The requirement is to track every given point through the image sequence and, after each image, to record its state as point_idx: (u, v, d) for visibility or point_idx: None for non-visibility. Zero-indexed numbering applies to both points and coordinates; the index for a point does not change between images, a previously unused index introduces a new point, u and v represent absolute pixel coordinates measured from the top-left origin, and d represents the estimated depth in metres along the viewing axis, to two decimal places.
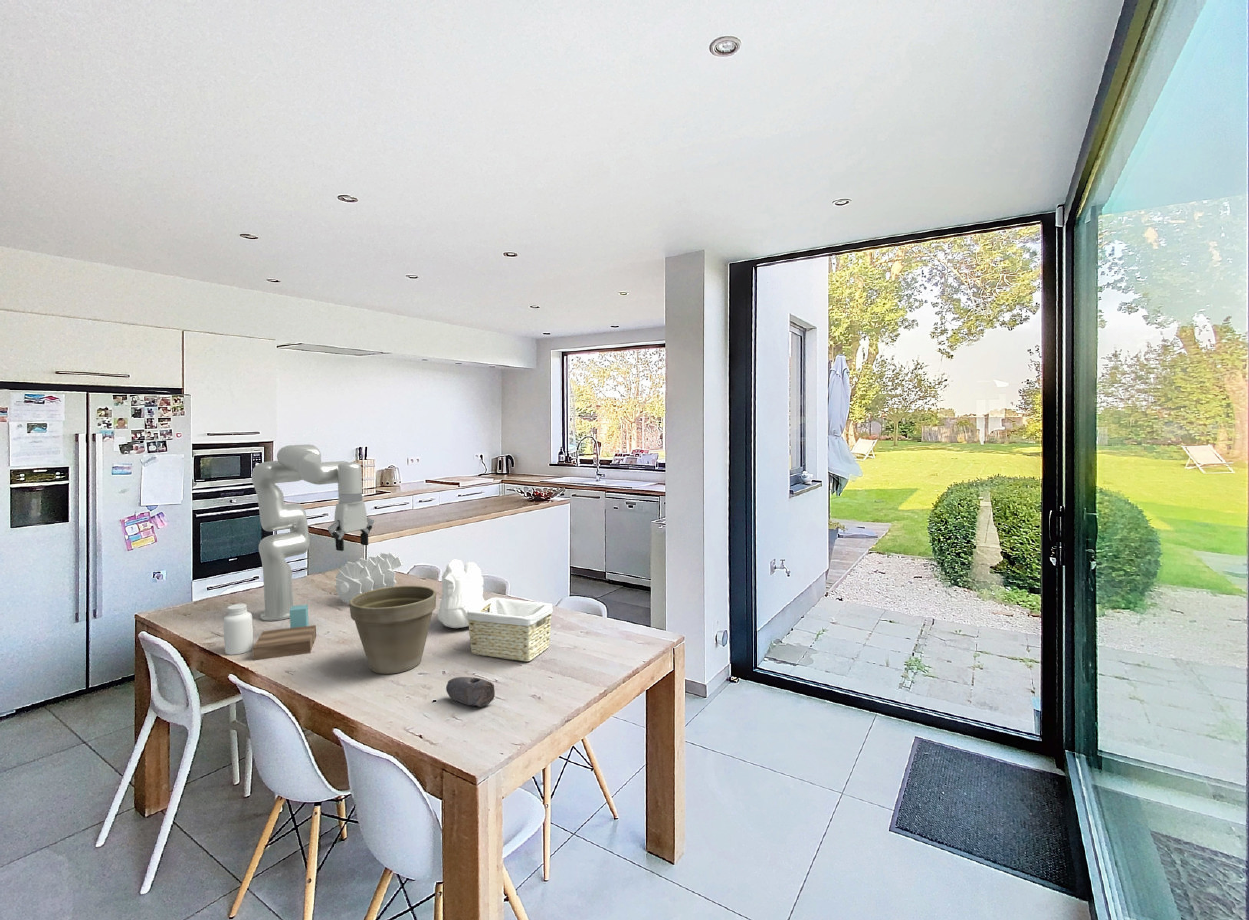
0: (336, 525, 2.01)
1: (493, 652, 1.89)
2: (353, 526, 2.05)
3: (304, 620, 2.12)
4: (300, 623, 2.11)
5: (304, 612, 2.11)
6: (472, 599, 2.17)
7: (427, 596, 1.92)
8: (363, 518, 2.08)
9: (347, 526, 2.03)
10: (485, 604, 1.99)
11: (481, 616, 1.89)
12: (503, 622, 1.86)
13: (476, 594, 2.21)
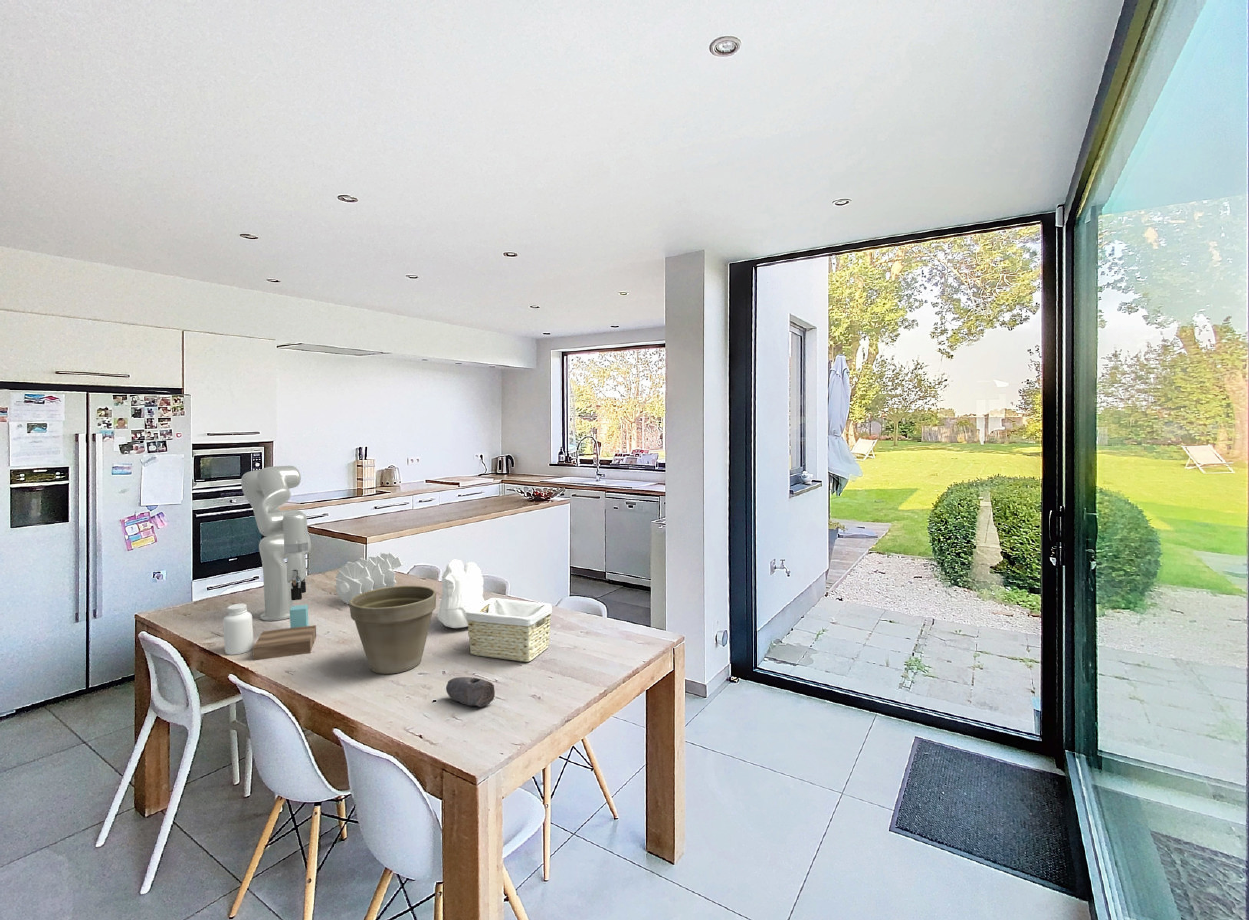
0: (296, 575, 2.06)
1: (493, 653, 1.89)
2: (304, 574, 2.12)
3: (304, 620, 2.12)
4: (300, 623, 2.11)
5: (304, 612, 2.11)
6: (472, 599, 2.17)
7: (427, 596, 1.92)
8: None
9: (303, 574, 2.10)
10: (484, 604, 1.99)
11: (480, 616, 1.89)
12: (503, 622, 1.86)
13: (476, 594, 2.21)
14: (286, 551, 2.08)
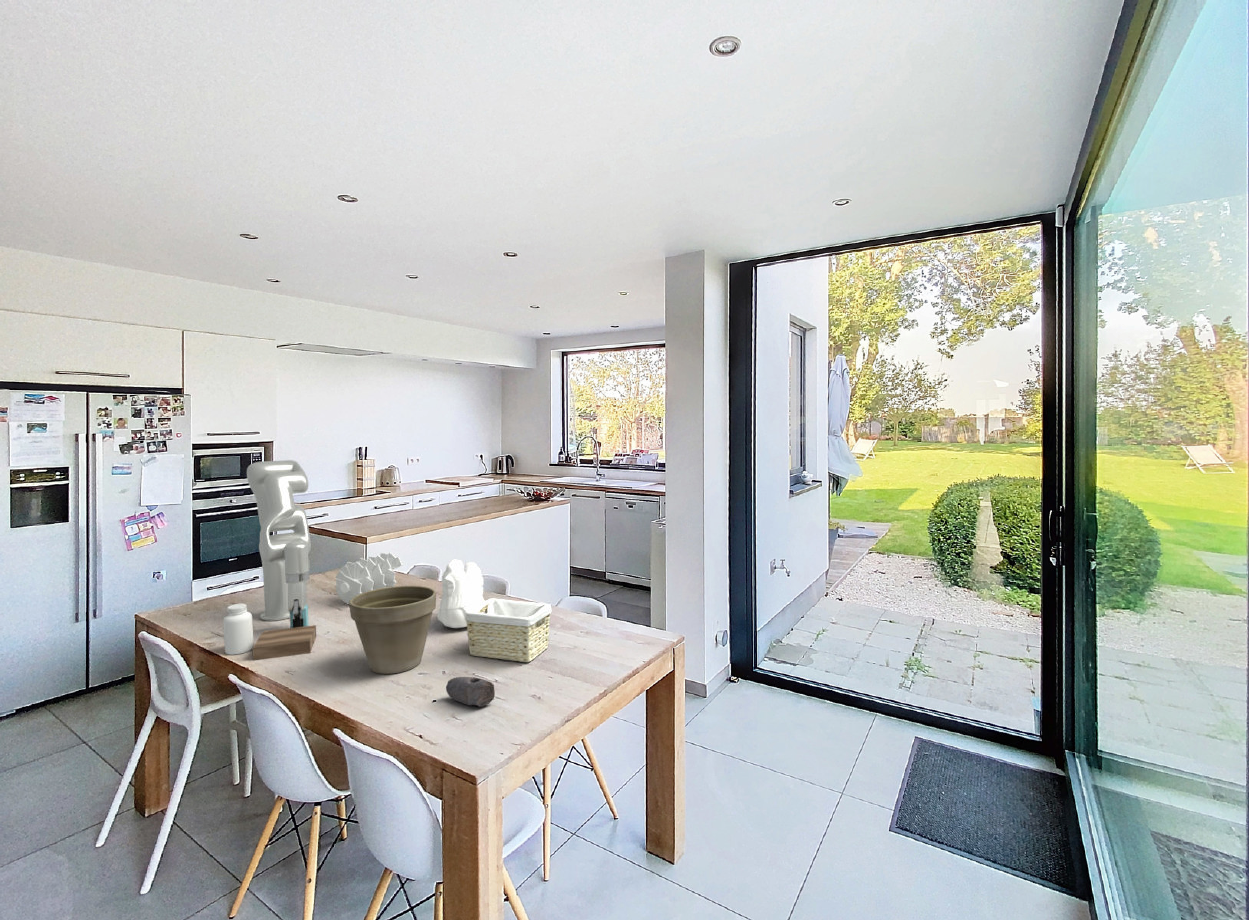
0: (298, 606, 2.08)
1: (492, 654, 1.88)
2: (305, 603, 2.13)
3: (304, 620, 2.12)
4: None
5: (304, 612, 2.11)
6: (472, 599, 2.17)
7: (427, 596, 1.92)
8: None
9: (304, 603, 2.11)
10: (483, 605, 1.98)
11: (480, 617, 1.88)
12: (503, 623, 1.85)
13: (476, 594, 2.21)
14: (287, 580, 2.09)
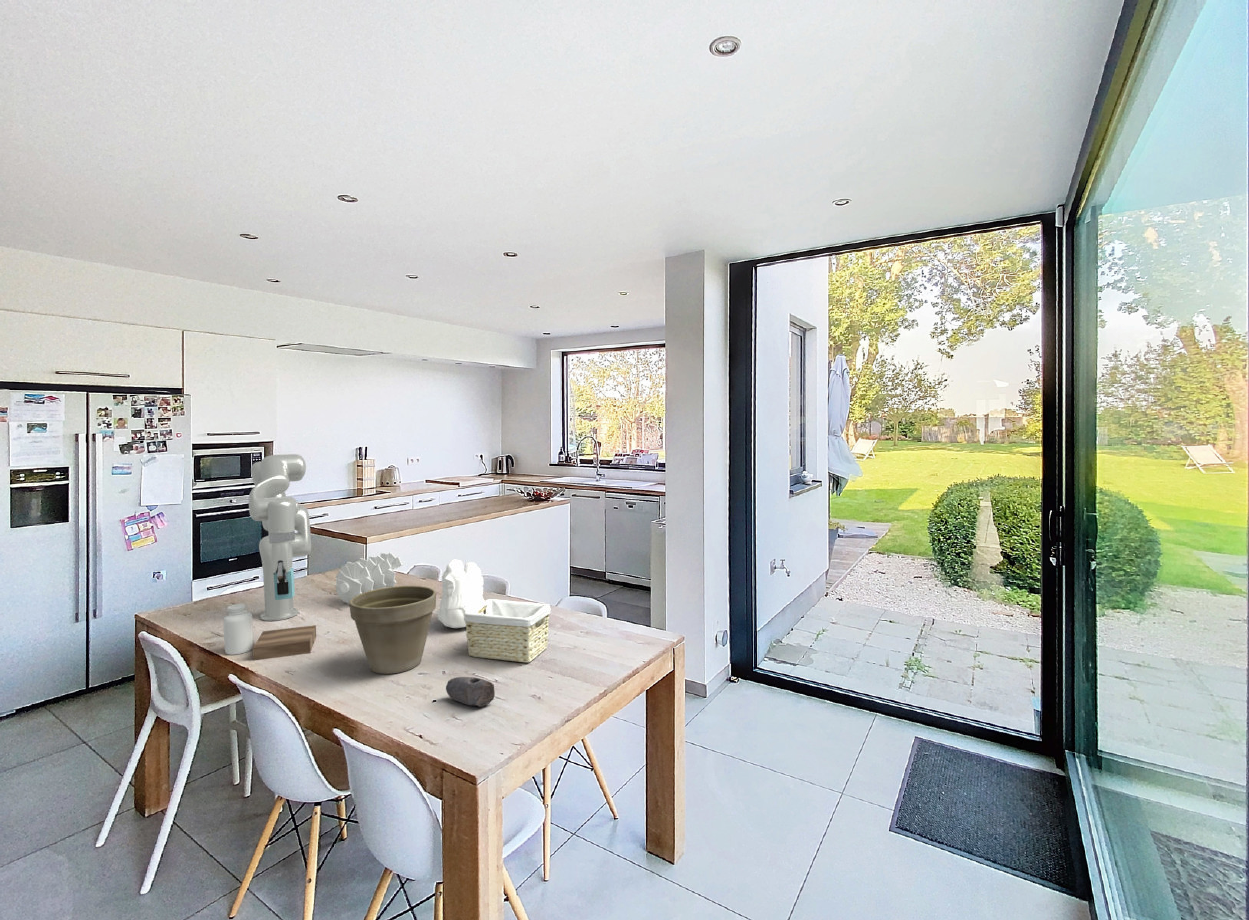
0: (282, 568, 1.93)
1: (492, 654, 1.87)
2: (290, 565, 1.98)
3: (289, 584, 1.96)
4: None
5: (289, 575, 1.96)
6: (472, 599, 2.17)
7: (427, 596, 1.92)
8: None
9: (289, 566, 1.95)
10: (481, 606, 1.98)
11: (479, 618, 1.87)
12: (502, 623, 1.85)
13: (476, 594, 2.21)
14: (271, 540, 1.94)
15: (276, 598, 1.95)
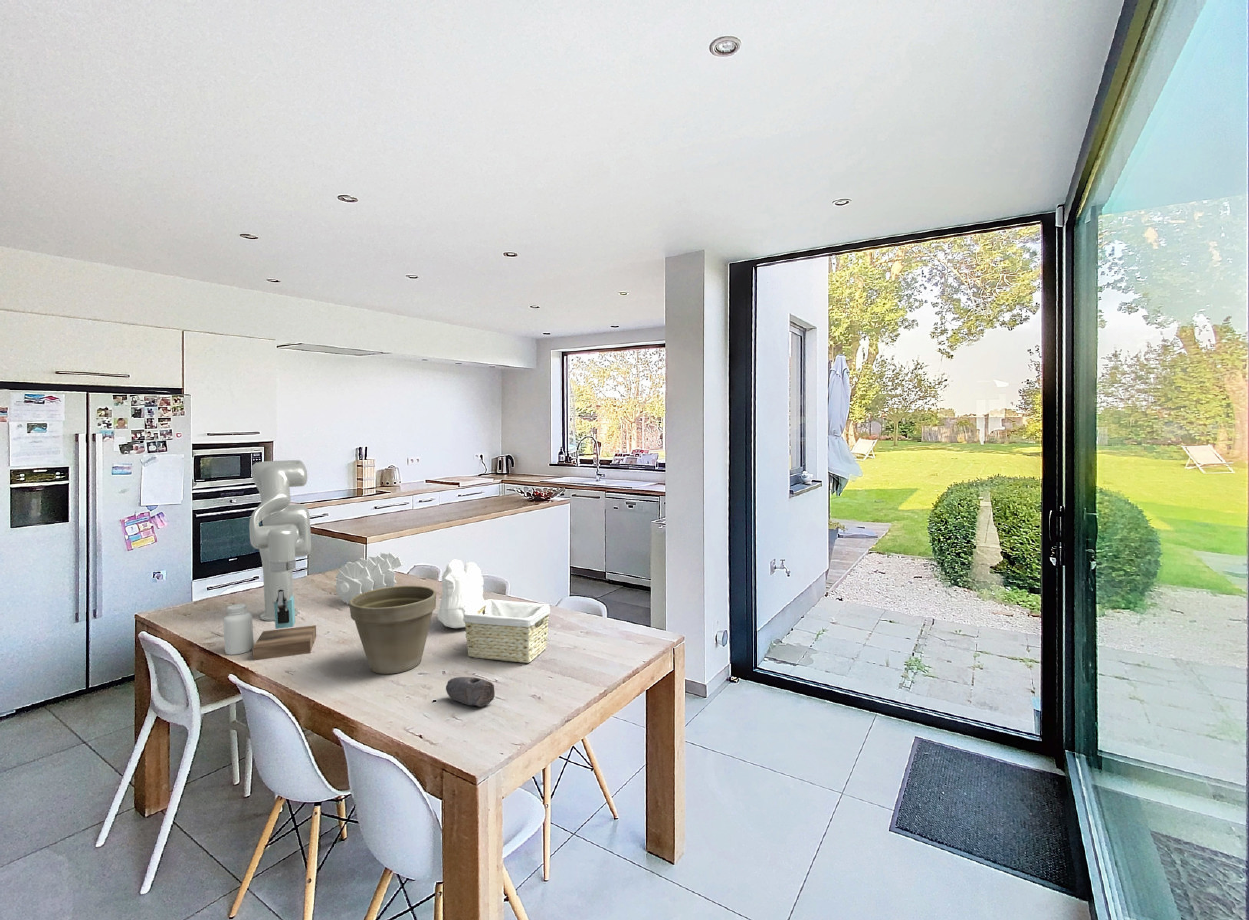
0: (283, 598, 1.93)
1: (491, 655, 1.87)
2: (291, 594, 1.97)
3: (290, 612, 1.96)
4: None
5: (289, 603, 1.96)
6: (472, 599, 2.17)
7: (427, 596, 1.92)
8: None
9: (289, 594, 1.95)
10: (481, 606, 1.97)
11: (478, 618, 1.87)
12: (502, 624, 1.85)
13: (476, 594, 2.21)
14: (271, 569, 1.94)
15: (276, 627, 1.95)
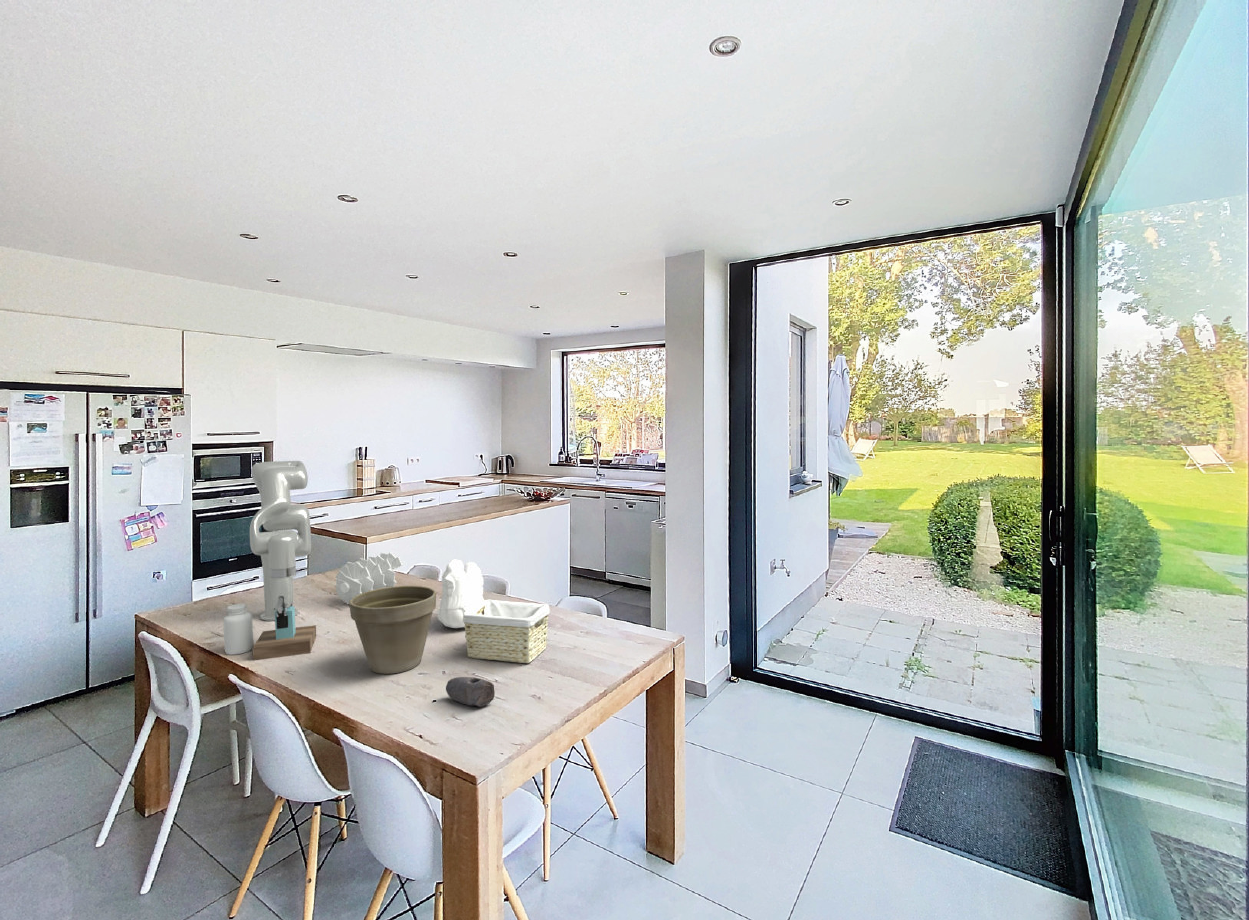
0: (282, 602, 1.92)
1: (491, 655, 1.87)
2: (291, 600, 1.98)
3: (290, 623, 1.97)
4: None
5: (290, 614, 1.97)
6: (472, 599, 2.17)
7: (427, 596, 1.92)
8: None
9: (289, 601, 1.96)
10: (480, 607, 1.97)
11: (478, 618, 1.86)
12: (502, 624, 1.84)
13: (476, 594, 2.21)
14: (272, 576, 1.94)
15: (277, 637, 1.96)
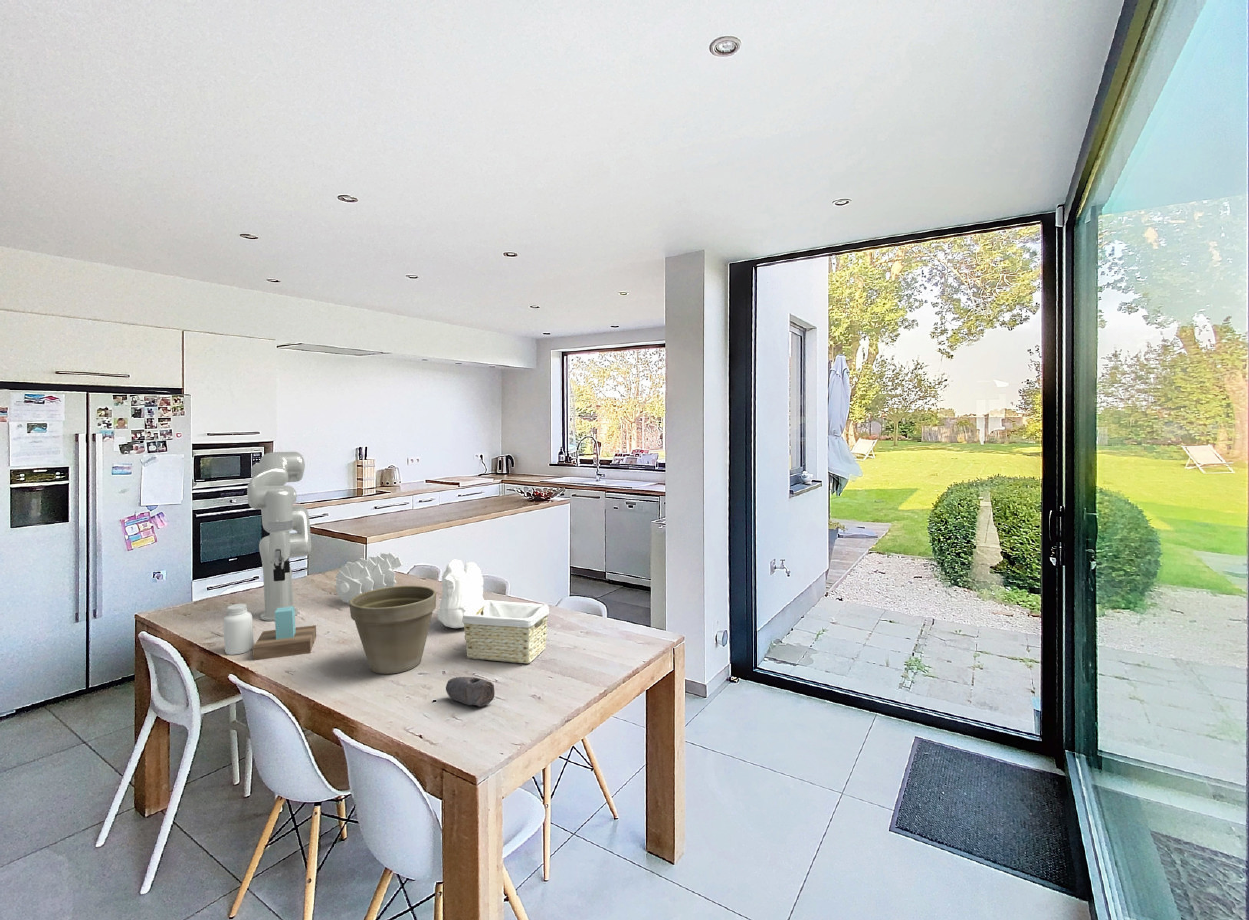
0: (279, 555, 1.94)
1: (491, 656, 1.86)
2: (288, 554, 1.99)
3: (290, 623, 1.97)
4: (286, 626, 1.96)
5: (290, 614, 1.97)
6: (472, 599, 2.17)
7: (427, 596, 1.92)
8: None
9: (286, 554, 1.97)
10: (479, 607, 1.96)
11: (478, 619, 1.86)
12: (502, 624, 1.84)
13: (476, 594, 2.21)
14: (269, 529, 1.95)
15: (277, 637, 1.96)
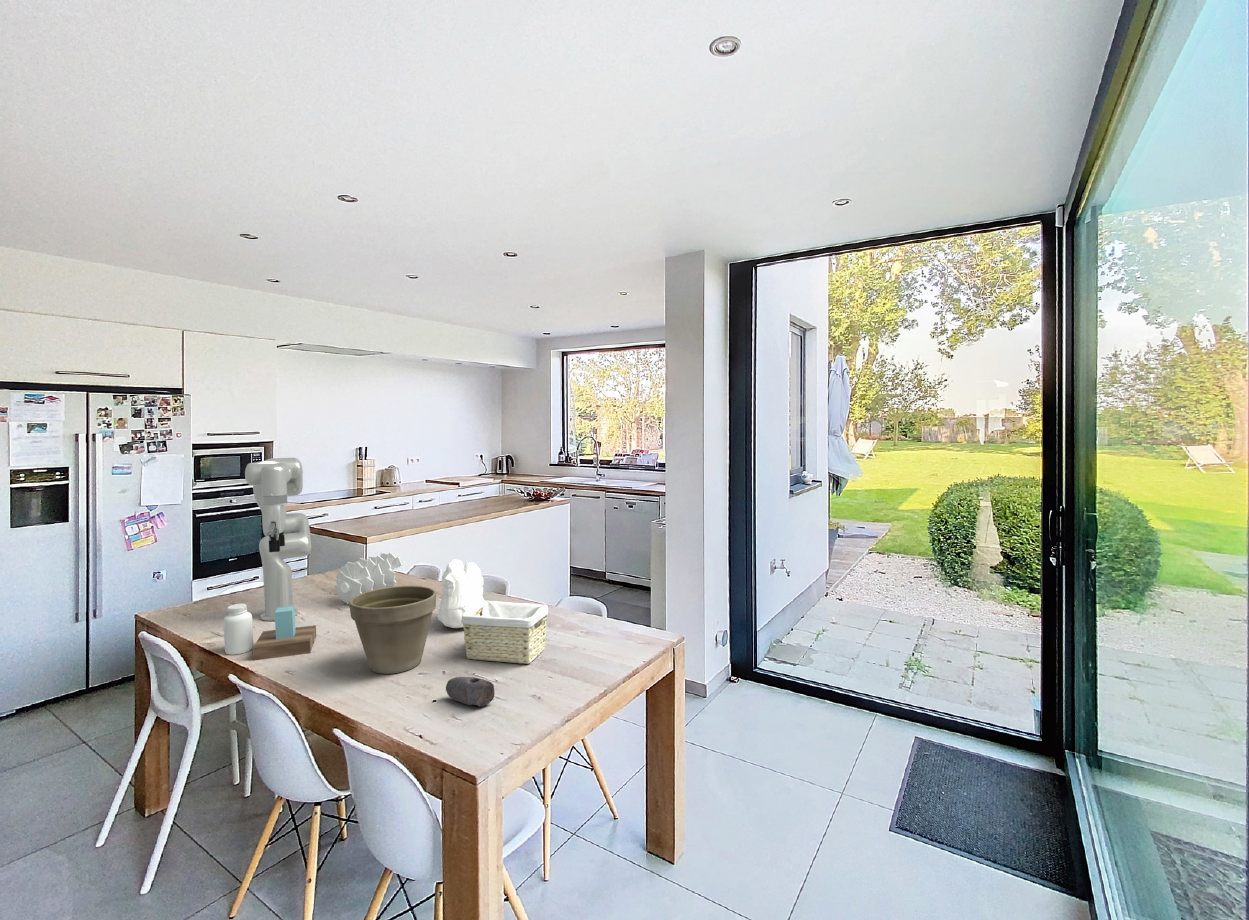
0: (274, 526, 2.04)
1: (491, 656, 1.86)
2: (283, 527, 2.10)
3: (290, 623, 1.97)
4: (286, 626, 1.96)
5: (290, 614, 1.97)
6: (472, 599, 2.17)
7: (427, 596, 1.92)
8: None
9: (281, 527, 2.08)
10: (478, 608, 1.96)
11: (477, 619, 1.86)
12: (502, 625, 1.84)
13: (476, 594, 2.21)
14: (264, 502, 2.06)
15: (277, 637, 1.96)
